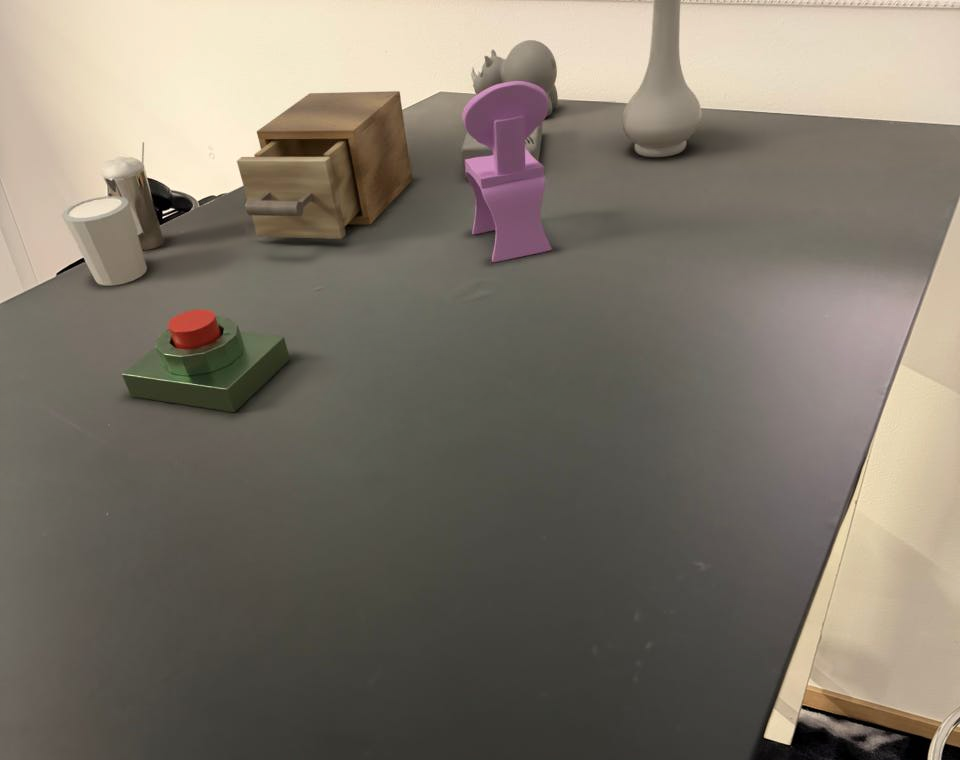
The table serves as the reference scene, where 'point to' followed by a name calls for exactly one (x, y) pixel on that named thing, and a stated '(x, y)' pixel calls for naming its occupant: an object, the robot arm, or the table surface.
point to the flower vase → (662, 92)
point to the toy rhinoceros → (521, 69)
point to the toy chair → (507, 167)
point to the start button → (194, 329)
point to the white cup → (107, 239)
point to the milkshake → (135, 196)
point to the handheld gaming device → (479, 150)
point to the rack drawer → (301, 188)
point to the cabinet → (355, 140)
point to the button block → (208, 369)
